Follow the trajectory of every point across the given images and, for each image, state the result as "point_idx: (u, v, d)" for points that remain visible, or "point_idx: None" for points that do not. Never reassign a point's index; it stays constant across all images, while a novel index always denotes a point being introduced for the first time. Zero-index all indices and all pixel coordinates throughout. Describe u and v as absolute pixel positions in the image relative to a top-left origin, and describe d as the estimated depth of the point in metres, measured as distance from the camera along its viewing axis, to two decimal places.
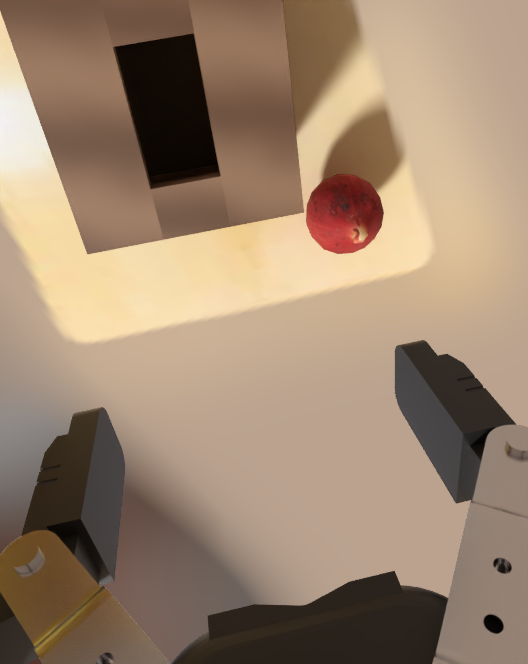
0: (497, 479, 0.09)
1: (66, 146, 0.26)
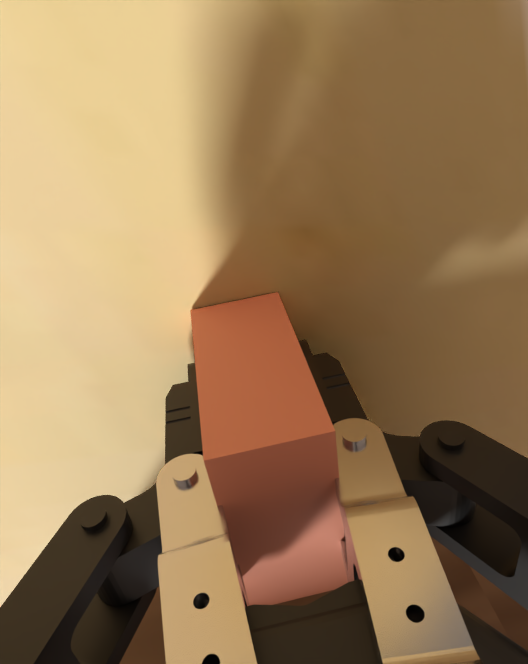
0: (351, 475, 0.10)
1: None
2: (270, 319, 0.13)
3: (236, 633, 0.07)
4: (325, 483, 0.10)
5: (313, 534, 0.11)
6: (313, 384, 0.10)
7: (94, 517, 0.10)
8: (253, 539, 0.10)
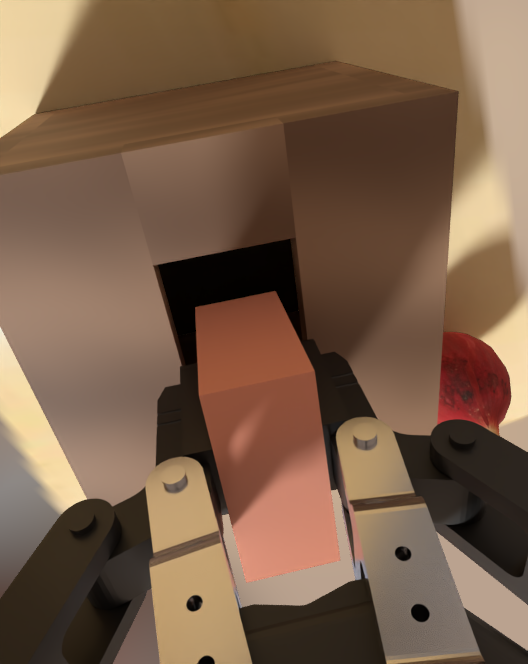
0: (360, 474, 0.10)
1: (71, 404, 0.16)
2: None
3: (230, 634, 0.07)
4: (273, 309, 0.14)
5: (268, 333, 0.12)
6: None
7: (82, 521, 0.10)
8: (216, 339, 0.12)
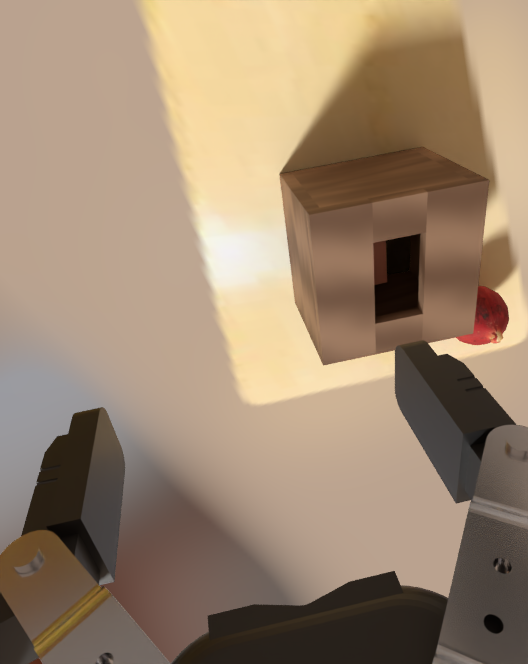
0: (497, 479, 0.09)
1: (328, 300, 0.38)
2: None
3: None
4: None
5: None
6: None
7: None
8: None
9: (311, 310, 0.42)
